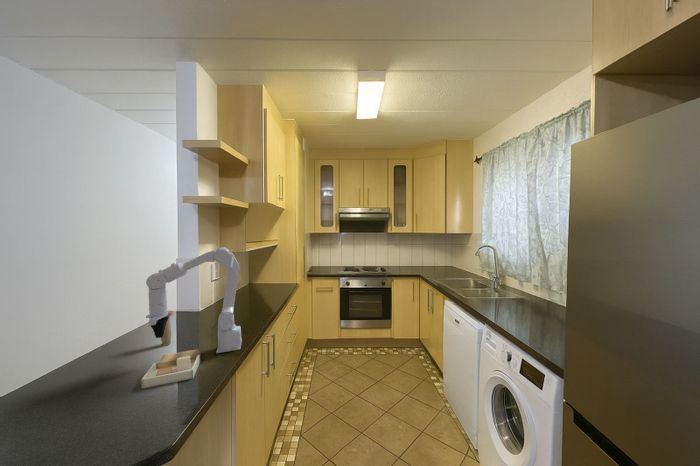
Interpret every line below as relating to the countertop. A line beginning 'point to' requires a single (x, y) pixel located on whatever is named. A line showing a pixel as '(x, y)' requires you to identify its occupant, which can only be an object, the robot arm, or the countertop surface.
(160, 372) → the terracotta tile
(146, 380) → the tray
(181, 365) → the cream tile
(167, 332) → the handle
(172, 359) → the oak board
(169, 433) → the countertop surface
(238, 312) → the countertop surface
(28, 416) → the countertop surface
